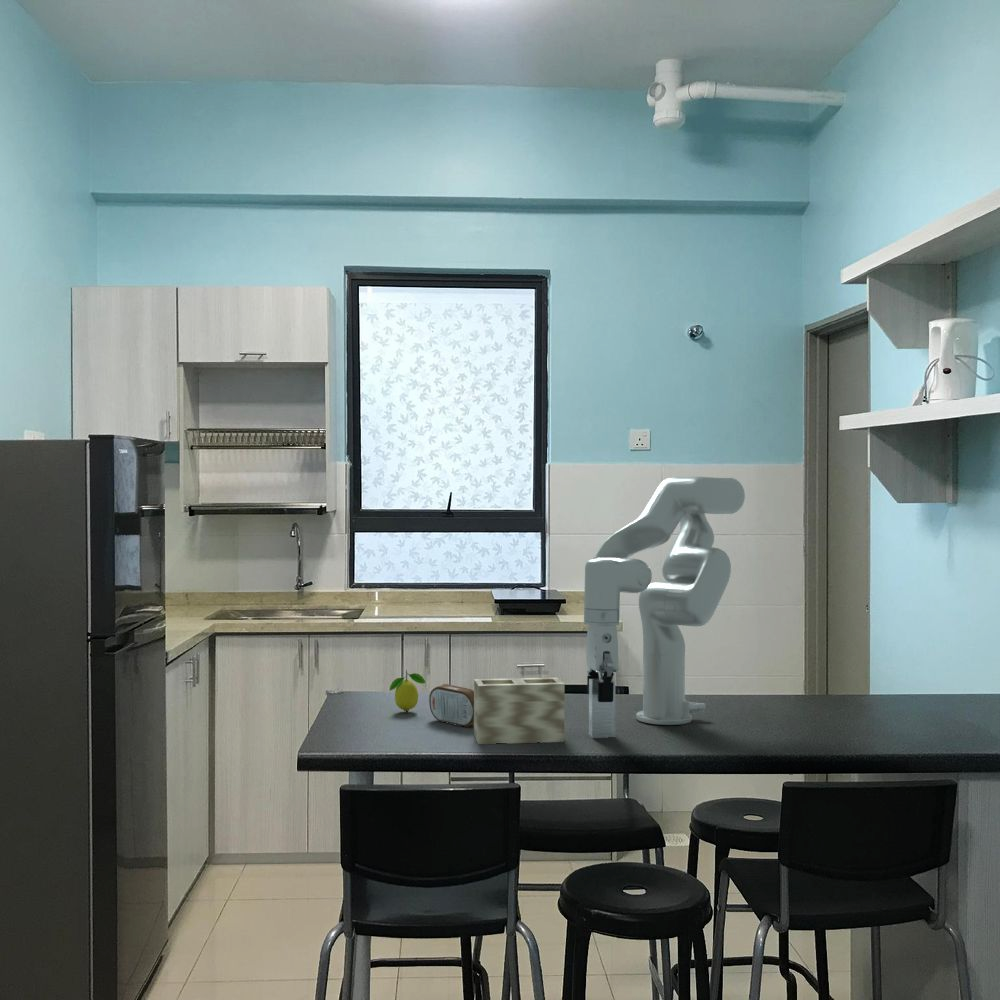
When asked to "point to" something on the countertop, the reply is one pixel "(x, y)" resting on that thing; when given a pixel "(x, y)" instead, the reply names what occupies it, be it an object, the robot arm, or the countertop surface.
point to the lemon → (406, 691)
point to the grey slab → (600, 713)
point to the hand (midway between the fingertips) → (599, 697)
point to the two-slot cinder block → (518, 710)
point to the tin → (452, 704)
